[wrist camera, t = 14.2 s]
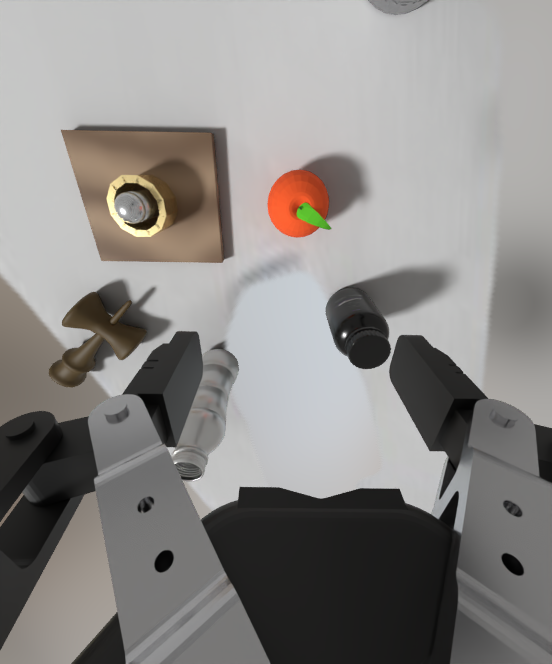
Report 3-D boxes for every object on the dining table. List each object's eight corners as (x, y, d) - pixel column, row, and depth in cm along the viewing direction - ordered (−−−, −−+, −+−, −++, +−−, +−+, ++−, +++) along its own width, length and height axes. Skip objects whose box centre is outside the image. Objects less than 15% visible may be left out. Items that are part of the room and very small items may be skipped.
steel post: (134, 189, 32) (104, 192, 26) (160, 189, 32) (135, 193, 26) (140, 216, 33) (112, 225, 28) (165, 217, 33) (142, 226, 28)
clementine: (342, 197, 33) (357, 202, 27) (310, 246, 36) (316, 260, 30) (287, 157, 31) (290, 152, 25) (258, 212, 34) (254, 220, 28)
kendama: (50, 347, 45) (110, 268, 38) (103, 378, 49) (167, 312, 42) (21, 370, 40) (84, 285, 33) (83, 403, 44) (152, 334, 37)
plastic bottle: (240, 375, 48) (220, 490, 30) (202, 373, 47) (159, 488, 30) (240, 344, 44) (216, 453, 27) (198, 342, 44) (148, 451, 27)
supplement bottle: (345, 277, 39) (370, 314, 28) (379, 302, 40) (415, 346, 30) (315, 312, 41) (327, 358, 31) (348, 334, 43) (370, 385, 33)
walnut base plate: (70, 131, 30) (60, 130, 29) (213, 134, 30) (211, 132, 29) (107, 257, 37) (101, 260, 36) (224, 259, 37) (222, 262, 36)
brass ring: (119, 174, 31) (99, 174, 27) (172, 175, 31) (159, 175, 27) (132, 230, 34) (116, 236, 30) (181, 230, 34) (170, 236, 31)
